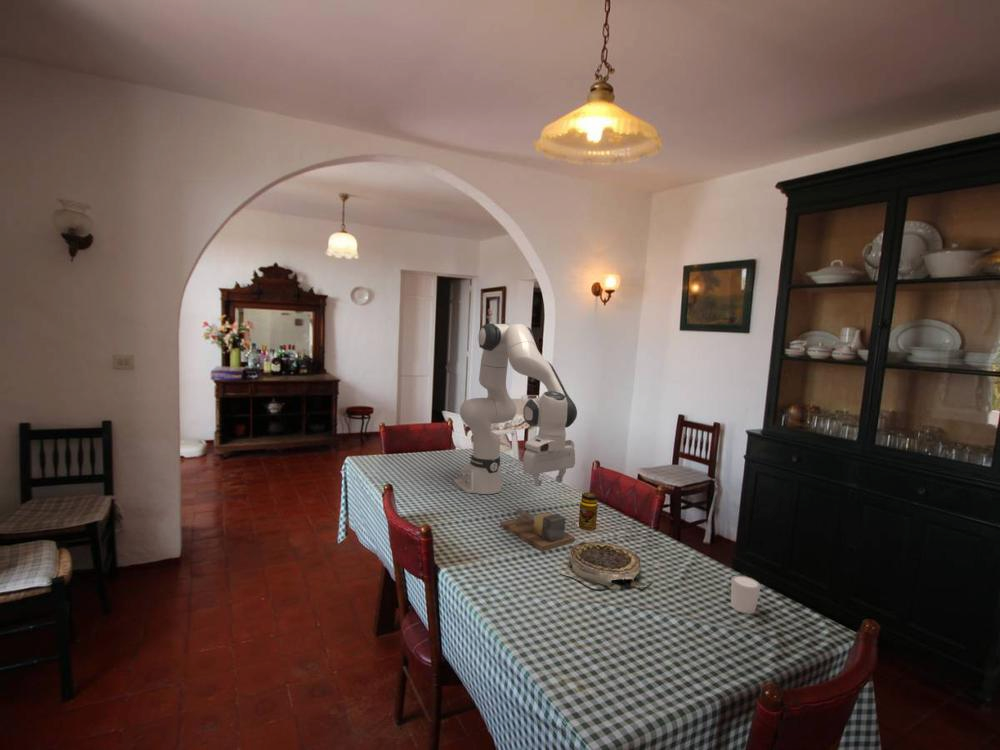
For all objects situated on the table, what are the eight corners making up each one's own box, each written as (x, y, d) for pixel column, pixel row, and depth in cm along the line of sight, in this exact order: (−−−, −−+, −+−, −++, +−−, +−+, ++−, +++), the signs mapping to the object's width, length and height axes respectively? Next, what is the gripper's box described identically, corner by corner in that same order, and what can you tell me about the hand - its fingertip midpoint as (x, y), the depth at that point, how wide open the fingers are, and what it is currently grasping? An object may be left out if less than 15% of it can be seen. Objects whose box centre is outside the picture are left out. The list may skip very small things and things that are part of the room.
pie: (537, 562, 150) (539, 546, 149) (597, 542, 167) (598, 527, 167) (614, 605, 128) (615, 587, 128) (672, 577, 146) (674, 561, 145)
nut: (533, 531, 166) (534, 515, 165) (546, 528, 169) (547, 512, 169) (541, 536, 163) (542, 519, 162) (554, 532, 166) (555, 516, 166)
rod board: (500, 526, 174) (501, 502, 173) (530, 518, 182) (532, 496, 181) (542, 551, 156) (544, 524, 155) (574, 541, 165) (576, 516, 164)
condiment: (582, 532, 173) (584, 498, 172) (571, 522, 181) (574, 490, 180) (601, 530, 175) (604, 497, 174) (590, 521, 183) (592, 489, 182)
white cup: (732, 597, 135) (735, 572, 134) (760, 607, 131) (763, 581, 130) (725, 607, 130) (728, 581, 129) (754, 618, 125) (757, 591, 125)
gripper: (567, 437, 171) (564, 476, 173) (521, 443, 159) (518, 485, 160) (581, 441, 166) (577, 482, 168) (534, 447, 154) (531, 491, 155)
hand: (548, 483), depth 164 cm, fingers open, 8 cm apart
